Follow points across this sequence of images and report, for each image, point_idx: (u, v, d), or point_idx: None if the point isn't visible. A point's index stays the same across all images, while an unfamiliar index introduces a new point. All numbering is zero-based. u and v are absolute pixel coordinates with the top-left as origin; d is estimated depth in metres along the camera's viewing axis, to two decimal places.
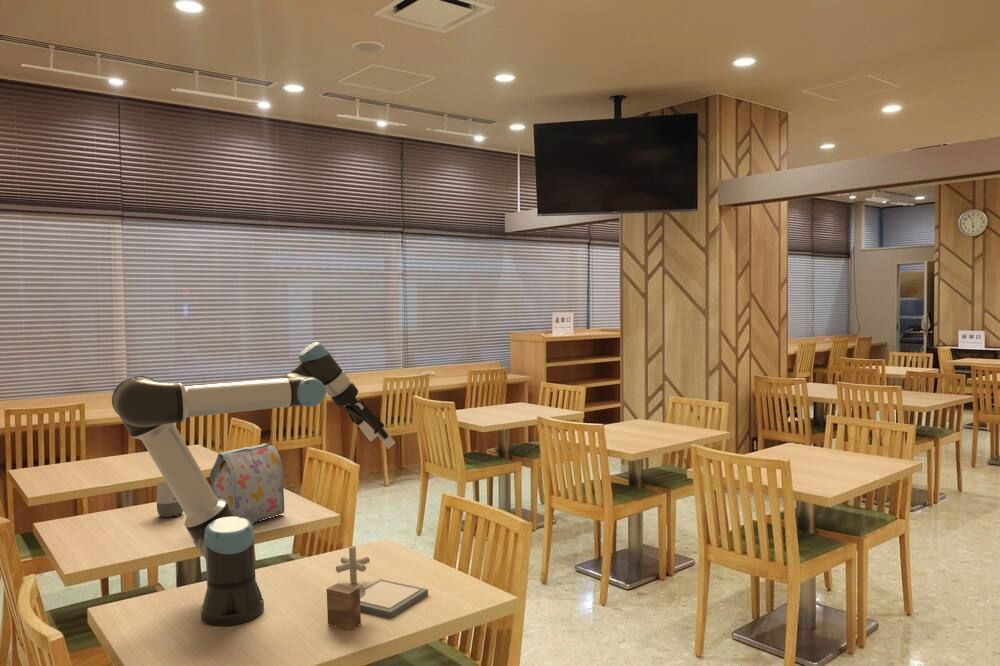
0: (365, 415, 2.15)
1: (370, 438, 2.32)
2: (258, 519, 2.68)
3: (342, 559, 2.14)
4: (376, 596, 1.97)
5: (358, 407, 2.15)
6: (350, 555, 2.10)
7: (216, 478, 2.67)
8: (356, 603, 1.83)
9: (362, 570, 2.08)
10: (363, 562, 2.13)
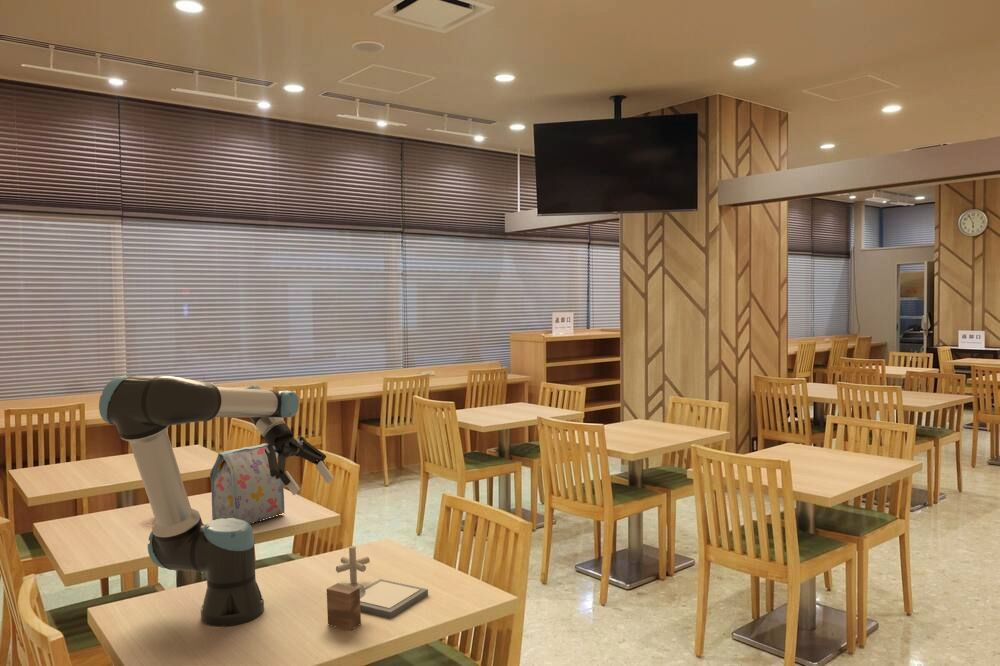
0: None
1: None
2: (258, 519, 2.68)
3: (342, 559, 2.14)
4: (376, 596, 1.97)
5: None
6: (350, 555, 2.10)
7: (216, 478, 2.67)
8: (356, 603, 1.83)
9: (362, 570, 2.08)
10: (363, 562, 2.13)
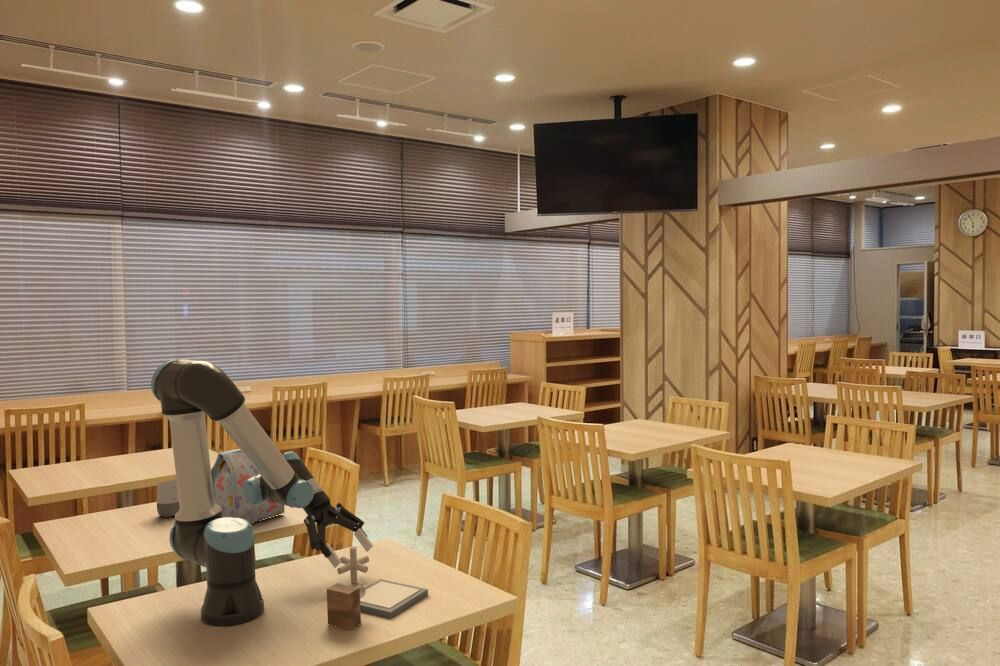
0: None
1: None
2: (258, 519, 2.68)
3: (341, 559, 2.13)
4: (376, 596, 1.97)
5: None
6: (351, 556, 2.10)
7: (216, 478, 2.67)
8: (356, 603, 1.83)
9: (364, 571, 2.08)
10: (363, 562, 2.13)
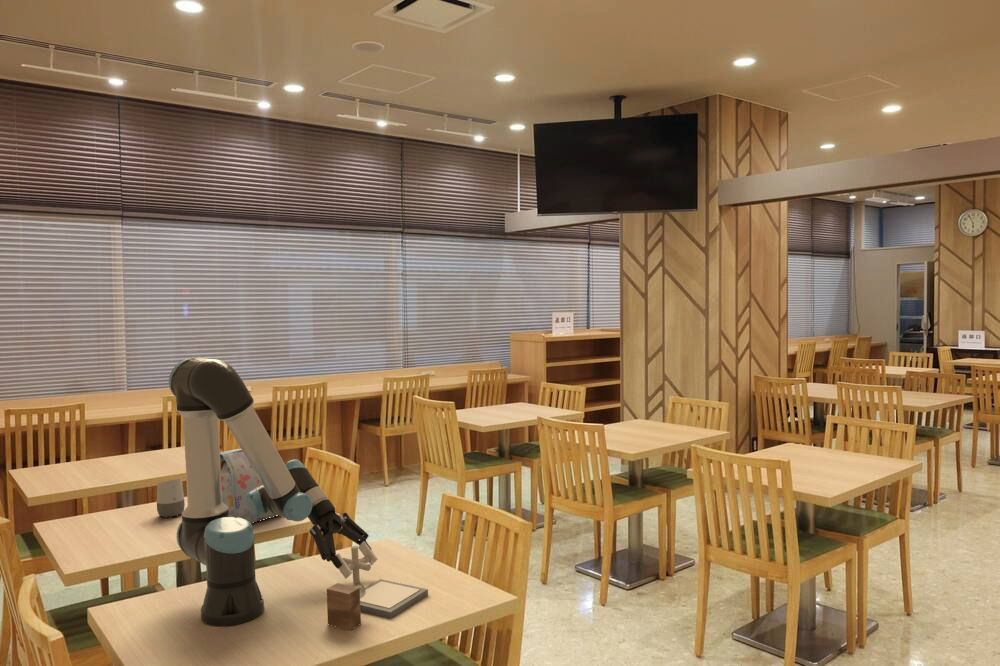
0: None
1: None
2: (258, 519, 2.68)
3: None
4: (376, 596, 1.97)
5: None
6: (353, 555, 2.10)
7: None
8: (356, 603, 1.83)
9: (367, 569, 2.08)
10: (365, 561, 2.13)
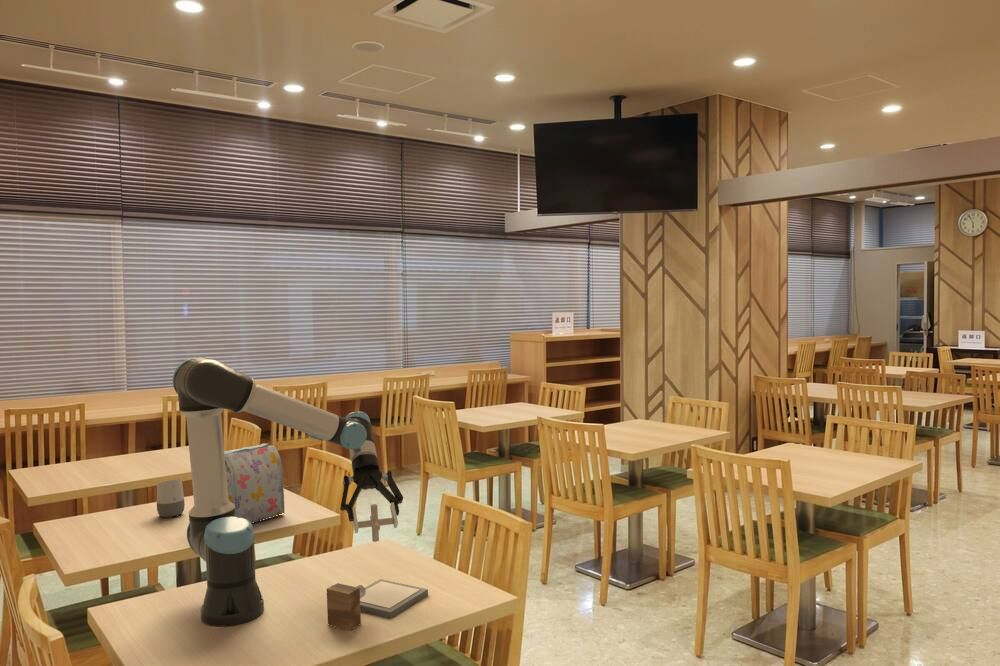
0: None
1: None
2: (258, 519, 2.68)
3: (370, 516, 2.13)
4: (376, 596, 1.97)
5: None
6: (371, 513, 2.08)
7: None
8: (356, 603, 1.83)
9: (375, 529, 2.04)
10: (385, 522, 2.09)
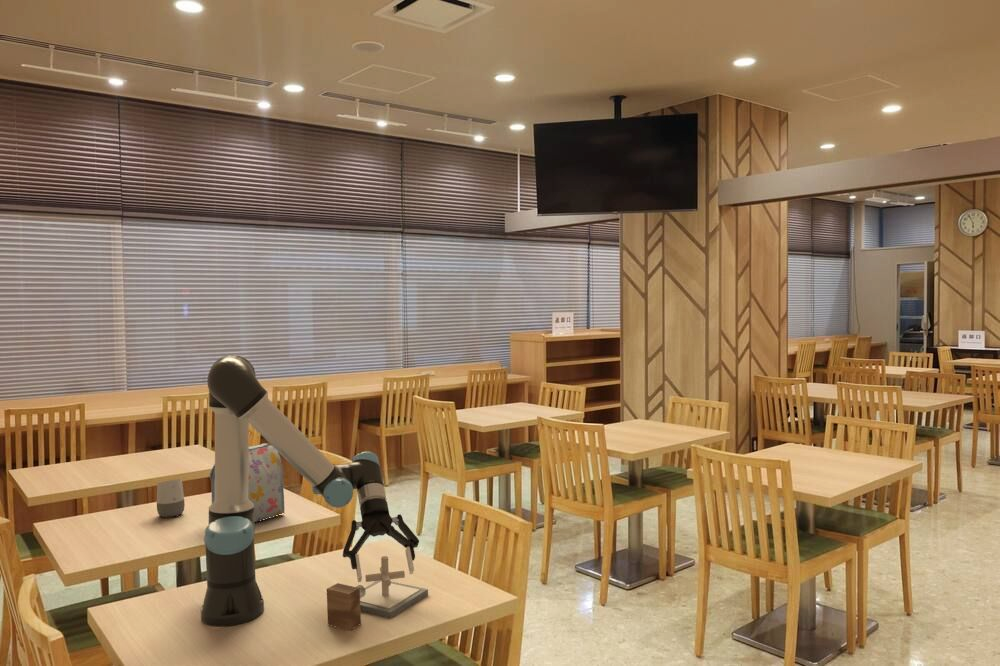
0: None
1: None
2: (258, 519, 2.68)
3: (380, 568, 2.01)
4: (376, 596, 1.97)
5: None
6: (381, 566, 1.97)
7: None
8: (356, 603, 1.83)
9: (386, 585, 1.92)
10: (396, 576, 1.97)
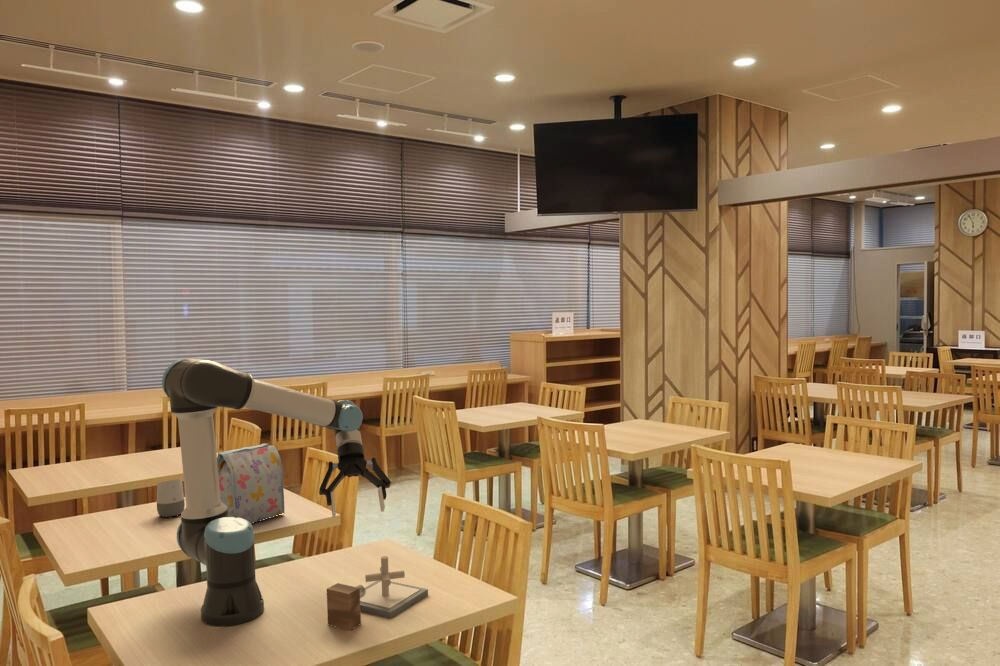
0: None
1: None
2: (258, 519, 2.68)
3: (380, 568, 2.01)
4: (376, 596, 1.97)
5: None
6: (381, 566, 1.97)
7: None
8: (356, 603, 1.83)
9: (386, 584, 1.93)
10: (396, 576, 1.97)
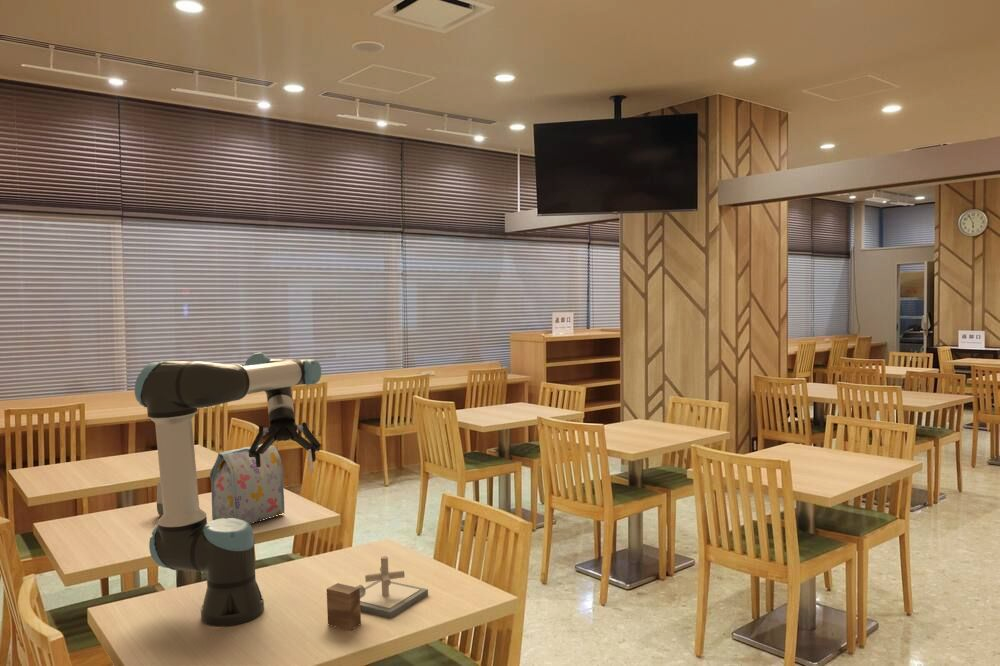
0: None
1: (263, 470, 2.15)
2: (258, 519, 2.68)
3: (380, 568, 2.01)
4: (376, 596, 1.97)
5: None
6: (381, 566, 1.97)
7: (216, 478, 2.67)
8: (356, 603, 1.83)
9: (386, 584, 1.93)
10: (396, 576, 1.97)
